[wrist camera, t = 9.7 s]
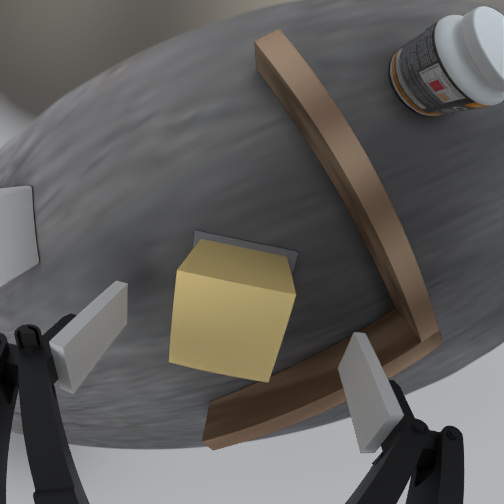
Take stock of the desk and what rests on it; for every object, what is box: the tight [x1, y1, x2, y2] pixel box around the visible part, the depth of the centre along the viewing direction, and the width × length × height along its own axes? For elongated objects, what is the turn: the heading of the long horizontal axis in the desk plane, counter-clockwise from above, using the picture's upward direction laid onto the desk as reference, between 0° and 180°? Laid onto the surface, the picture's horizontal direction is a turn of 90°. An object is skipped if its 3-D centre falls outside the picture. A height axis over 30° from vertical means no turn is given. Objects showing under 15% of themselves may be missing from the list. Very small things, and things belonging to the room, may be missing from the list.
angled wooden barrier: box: [202, 29, 443, 450], centre depth 18 cm, size 22×20×5 cm
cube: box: [169, 239, 296, 382], centre depth 18 cm, size 6×6×6 cm
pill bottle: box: [390, 7, 504, 116], centre depth 11 cm, size 6×6×10 cm
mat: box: [192, 230, 299, 275], centre depth 21 cm, size 10×10×1 cm
